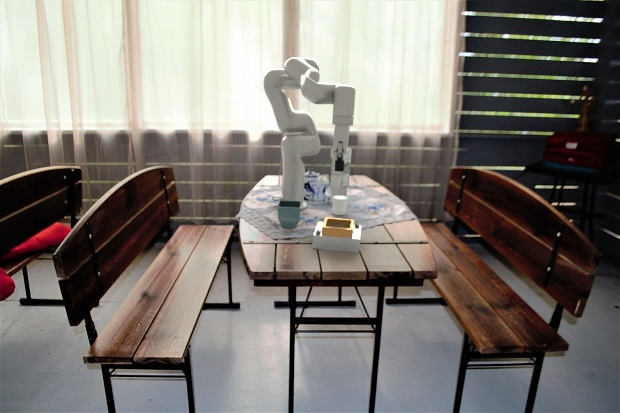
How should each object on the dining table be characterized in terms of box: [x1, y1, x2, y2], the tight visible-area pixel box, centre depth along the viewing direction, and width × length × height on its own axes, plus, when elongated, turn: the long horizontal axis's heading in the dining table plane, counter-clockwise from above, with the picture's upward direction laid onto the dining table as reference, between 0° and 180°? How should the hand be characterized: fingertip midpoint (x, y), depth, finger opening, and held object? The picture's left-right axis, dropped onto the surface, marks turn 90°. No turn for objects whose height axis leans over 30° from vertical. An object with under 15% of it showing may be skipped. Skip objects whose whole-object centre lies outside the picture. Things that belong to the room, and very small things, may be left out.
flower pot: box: [276, 200, 302, 229], centre depth 174 cm, size 9×9×9 cm
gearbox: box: [311, 216, 362, 254], centre depth 159 cm, size 16×14×8 cm
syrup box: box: [327, 147, 353, 189], centre depth 167 cm, size 6×6×14 cm
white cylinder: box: [332, 195, 349, 216], centre depth 192 cm, size 7×7×7 cm
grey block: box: [329, 186, 348, 205], centre depth 206 cm, size 4×7×10 cm, turn 99°
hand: (339, 168), depth 167 cm, fingers closed on syrup box, 7 cm apart
